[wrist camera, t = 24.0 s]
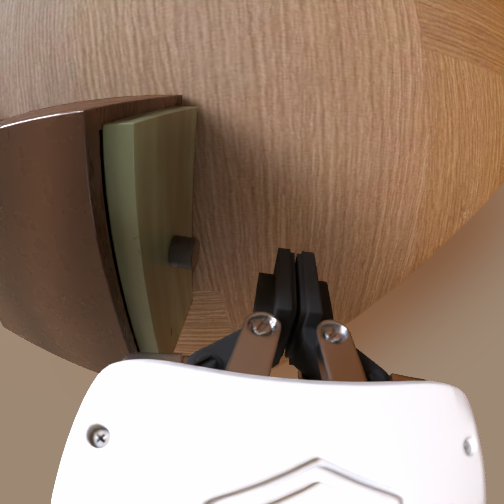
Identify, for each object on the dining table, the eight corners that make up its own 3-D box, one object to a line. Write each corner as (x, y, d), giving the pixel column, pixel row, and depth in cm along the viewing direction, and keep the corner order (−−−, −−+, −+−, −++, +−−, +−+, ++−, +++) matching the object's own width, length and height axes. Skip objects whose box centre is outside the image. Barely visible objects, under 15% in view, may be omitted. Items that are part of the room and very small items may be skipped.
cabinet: (182, 94, 13) (84, 110, 6) (181, 295, 21) (143, 389, 14) (27, 112, 13) (-59, 148, 6) (54, 265, 21) (3, 327, 14)
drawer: (220, 108, 12) (170, 123, 7) (208, 303, 20) (184, 382, 14) (36, 118, 13) (-37, 148, 7) (63, 270, 20) (21, 323, 14)
